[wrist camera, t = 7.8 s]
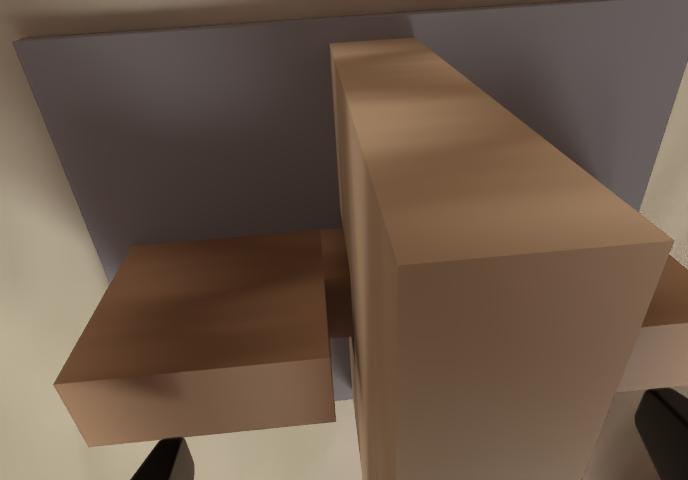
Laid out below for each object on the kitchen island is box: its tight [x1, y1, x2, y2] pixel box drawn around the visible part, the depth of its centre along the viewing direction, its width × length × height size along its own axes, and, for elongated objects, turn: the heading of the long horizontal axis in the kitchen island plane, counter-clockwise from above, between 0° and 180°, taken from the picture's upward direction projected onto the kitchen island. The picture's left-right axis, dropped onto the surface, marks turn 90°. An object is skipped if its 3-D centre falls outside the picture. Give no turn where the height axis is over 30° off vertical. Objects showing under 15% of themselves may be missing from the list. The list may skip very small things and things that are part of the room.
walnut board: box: [53, 228, 688, 447], centre depth 12 cm, size 14×2×5 cm, turn 93°
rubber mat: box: [13, 0, 688, 401], centre depth 14 cm, size 16×13×1 cm
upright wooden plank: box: [329, 37, 674, 480], centre depth 10 cm, size 2×12×9 cm, turn 3°
